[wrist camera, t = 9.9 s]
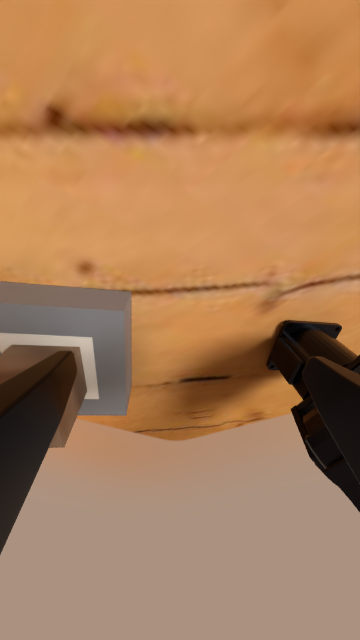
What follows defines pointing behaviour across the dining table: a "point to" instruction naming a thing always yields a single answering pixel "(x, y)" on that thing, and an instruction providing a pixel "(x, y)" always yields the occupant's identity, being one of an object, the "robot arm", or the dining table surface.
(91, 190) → the dining table surface
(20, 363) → the walnut cube
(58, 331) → the plinth
